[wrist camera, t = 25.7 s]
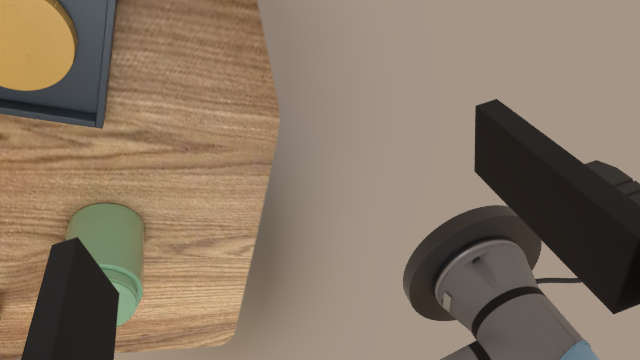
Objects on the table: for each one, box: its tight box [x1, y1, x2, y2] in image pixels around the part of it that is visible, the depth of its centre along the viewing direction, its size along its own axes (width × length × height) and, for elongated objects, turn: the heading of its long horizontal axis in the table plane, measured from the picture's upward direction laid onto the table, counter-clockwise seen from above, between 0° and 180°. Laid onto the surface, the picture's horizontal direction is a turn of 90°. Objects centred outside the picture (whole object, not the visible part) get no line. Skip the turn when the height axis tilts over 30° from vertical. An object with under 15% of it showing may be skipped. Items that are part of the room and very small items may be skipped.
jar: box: [64, 203, 145, 327], centre depth 46 cm, size 8×8×10 cm
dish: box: [0, 0, 117, 128], centre depth 36 cm, size 13×13×2 cm
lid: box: [0, 0, 79, 91], centre depth 36 cm, size 8×8×2 cm
